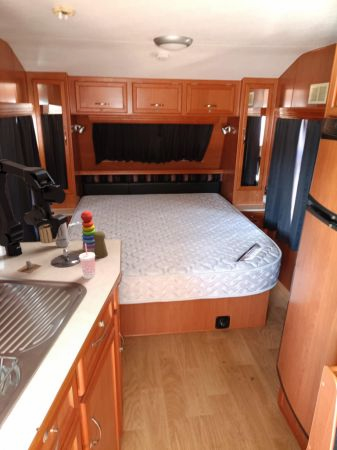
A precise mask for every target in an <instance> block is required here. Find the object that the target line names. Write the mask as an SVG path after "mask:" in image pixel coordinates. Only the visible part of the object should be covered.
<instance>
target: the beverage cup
mask: <svg viewBox="0 0 337 450" xmlns="http://www.w3.org/2000/svg"><path fill="white" fill-rule="evenodd" d="M85 248H86V251H84V252H83V253H80V254H78V255H79V259H80V261H81V262H80V266H81V271H82V274H83V275H82V276H83V278H84V279H86V278H90V279H93V278H95V277H96V261H95V260H96V259H95V257H96V255H95V253H94V252H87V246H86V243H85Z"/></svg>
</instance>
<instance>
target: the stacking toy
mask: <svg viewBox="0 0 337 450" xmlns="http://www.w3.org/2000/svg"><path fill="white" fill-rule="evenodd" d="M80 219H81V221H82V222H81V223H82V232H81V233H82V235H81V237H82V239H81V241H82V251H84V252H86V248H85V243H86V246H87V252H93V253H94V248H95V240H94V239H93V234H94V233H95V232H97V231H96V229H95V227H96V226H95V225H94V221H93V213H92V212H91V211H89V210H84V211H82V213H81V214H80Z"/></svg>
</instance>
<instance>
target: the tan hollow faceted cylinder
mask: <svg viewBox="0 0 337 450" xmlns="http://www.w3.org/2000/svg"><path fill="white" fill-rule="evenodd" d="M49 224H50V223H46V224H44V225H43V226H40V227H39V228H38V229H39V232H38V233H39V237H40V239H39V240H40V243H41V244H46V245H47V244H52V243H56V242H55V241H56V240H57V237H56V239H53V237H52V232H51V228H50V227H48V226H47V225H49Z"/></svg>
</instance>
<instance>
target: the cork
mask: <svg viewBox="0 0 337 450" xmlns="http://www.w3.org/2000/svg"><path fill="white" fill-rule="evenodd" d="M105 238H106V234H105V232H104V231H96V232H95V233H94V234H93V239H94V240H95V248H94V252H93V253H95V258H96V259H105V258H107V257H108V255H109V253H108V249H107V245H106V239H105Z"/></svg>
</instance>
